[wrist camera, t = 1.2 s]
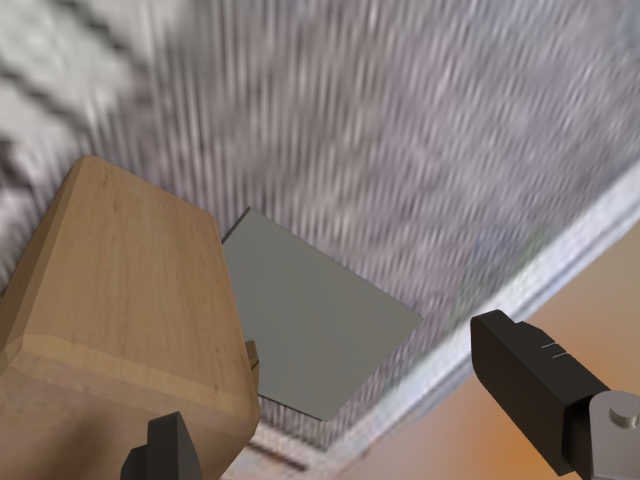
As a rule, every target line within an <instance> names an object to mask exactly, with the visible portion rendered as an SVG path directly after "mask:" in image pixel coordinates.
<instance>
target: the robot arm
mask: <svg viewBox="0 0 640 480" xmlns="http://www.w3.org/2000/svg"><path fill="white" fill-rule="evenodd" d="M470 328H471V352H472V364H473V368H474V371H475V373H476V375H477V377H478V379H479V381H480V382H481V383H482V385H483V386H484V387H485V388H486V389H487V390H488V392H489V393H490V394H491V395H492V397H493V398H494V399H495V400H496V401H497V403H498V404H499V405H500V406H501V407H502V409H503V410H504V411H505V412H506V413H507V414H508V416H509V417H510V418H511V419H512V421H513V422H514V423H515V424H516V425H517V427H518V428H519V429H520V430H521V431H522V433H523V434H524V435H525V436H526V437H527V439H528V440H529V441H530V442H531V443H532V445H533V446H534V447H535V448H536V449H537V451H538V452H539V453H540V454H541V455H542V457H543V458H544V459H545V460H546V461H547V463H548V464H549V465H550V466H551V467H552V469H553V470H554V471H555V472H556V473H557V475H558V476H563V475H565V474H568V473H570V472H573V471H576V473H577V474H578V475H579V476H580V477H581V478H582V480H640V396H638V395H635V394H632V393H629V392H624V391H615V390H614V391H612V390H610V389H609V388H608V387H607V386H606V385H604V384H603V383H602V382H601V381H600V380H599V379H598V378H596V377H595V376H594V375H593V374H592V373H591V372H590V371H589V370H587V369H586V368H585V367H584V366H583V365H582V364H580V363H579V362H578V361H577V360H576V359H575V358H573V357H572V356H571V355H570V354H567V352H566V351H565V350H564V349H563V348H562V347H561V346H560V345H559V344H556V343H555V341H554V340H553V339H552V338H551V337H549V336H548V335H547V334H546V333H545V332H544V331H542V330H541V329H539V328H536V327H535V326H532V325H530V324H527V323H526V322H523V321H521V322H518V323H514V322H513V321H512V320H511V319H510V318H509V317H508V316H507V315H506V314H505V313H503V312H502V311H501V310H498V309H497V310H493V311H490V312H487V313H484V314H481V315H478V316H475V317H472V319H471V322H470ZM120 480H202V473H201V467H200V463H199V459H198V456H197V453H196V450H195V448H194V445H193V443H192V440H191V438H190V435H189V433H188V430H187V428H186V425H185V423H184V420H183V418H182V415H181V413H180V412H179V411H177V412H174V413H171V414H167V415H164V416H161V417H158V418H155V419H152V420H149V422H148V430H147V444H145V445H142V446H139V447H136V448H133V449H131V451H130V452H129V454H128V456H127V458H126V460H125V462H124V464H123V466H122V468H121V474H120Z"/></svg>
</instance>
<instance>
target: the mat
mask: <svg viewBox="0 0 640 480" xmlns="http://www.w3.org/2000/svg"><path fill="white" fill-rule="evenodd" d="M221 243H222V247H223V252H224V256H225V260H226V264H227V269H228V273H229V277H230V282H231V286H232V290H233V294H234V299H235V303H236V307H237V311H238V316H239V320H240V324H241V328H242V333H243V337H244V341H245V342H249V341H252V340H254V341H255V345H256V350H257V354H258V359H259V384H258V392H257V393H258V394H260V395H263V396H265V397H268V398H270V399H272V400H275V401H277V402H280V403H282V404H285V405H287V406H289V407H292V408H294V409H297V410H299V411H301V412H304V413H306V414H309V415H311V416H314V417H316V418H318V419H321V420H323V421H326V422H328V421H329V420H330V419H331V418H332V417H333V416H334V414H335V413H336V412H337V411H338V410H339V409H340V408H341V407H342V406H343V405H344V404H345V403H346V402H347V401H348V400H349V399H350V397H351V396H352V395H353V394H354V393H355V392H356V391H357V390H358V389H359V388H360V387H361V386H362V385H363V384H364V383H365V382H366V380H367V379H368V378H369V377H370V376H371V375H372V374H373V373H374V372H375V371H376V370H377V369H378V368H379V367H380V366H381V365H382V363H383V362H384V361H385V360H386V359H387V358H388V357H389V356H390V355H391V354H392V353H393V352H394V351H395V350H396V349H397V348H398V346H399V345H400V344H401V343H402V342H403V341H404V340H405V339H406V338H407V337H408V336H409V335H410V334H411V333H412V332H413V331H414V329H415V328H416V327H417V326H418V325H419V324H420V323H421V322H422V321H423V320H424V319H423V317H422V316H421V315H420V314H418V313H416V312H415V311H413V310H412V309H410V308H409V307H407V306H405V305H404V304H402V303H401V302H399V301H398V300H396V299H394V298H393V297H391V296H390V295H388V294H387V293H385V292H383V291H382V290H380V289H379V288H377V287H376V286H374V285H372V284H371V283H369V282H368V281H366V280H365V279H363V278H361V277H360V276H358V275H357V274H355V273H354V272H352V271H350V270H349V269H347V268H346V267H344V266H343V265H341V264H339V263H338V262H336V261H335V260H333V259H332V258H330V257H328V256H327V255H325V254H324V253H322V252H321V251H319V250H318V249H316V248H314V247H313V246H311V245H310V244H308V243H307V242H305V241H303V240H302V239H300V238H299V237H297V236H296V235H294V234H292V233H291V232H289V231H288V230H286V229H285V228H283V227H281V226H280V225H278V224H277V223H275V222H274V221H272V220H270V219H269V218H267V217H266V216H264V215H263V214H261V213H259V212H258V211H256V210H255V209H253V208H252V207H250V206H249V207H248V208H247V210H246V211H245V212H244V213H243V215H242V216H241V217H240V218H239V220H238V221H237V222H236V224H235V225H234V226H233V227H232V229H231V230H230V231H229V232H228V234H227V235H226V236H225V237H224V239H223V240H222V241H221Z"/></svg>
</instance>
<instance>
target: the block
mask: <svg viewBox="0 0 640 480" xmlns="http://www.w3.org/2000/svg"><path fill="white" fill-rule="evenodd" d="M177 411H179V412H180V413H181V415H182V418H183V420H184V423H185V425H186V428H187V430H188V433H189V435H190V438H191V440H192V443H193V445H194V448H195V450H196V453H197V456H198V459H199V463H200V467H201V473H202V480H219V478H220V477H221V476H222V475H223V473H224V472H225V471H226V470H227V468H228V467H229V466H230V465H231V463H232V462H233V461H234V460H235V458H236V457H237V456H238V455H239V453H240V452H241V451H242V450H243V448H244V447H245V446H246V445H247V443H248V442H249V441H250V440H251V438H252V437H253V436H254V434H255V431H256V428H257V425H258V423H259V417H260V411H261V409H260V405H259V401H258V397H257V392H256V388H255V384H254V380H253V375H252V371H251V367H250V363H249V358H248V354H247V350H246V346H245V341H244V337H243V333H242V328H241V324H240V320H239V316H238V311H237V307H236V303H235V299H234V294H233V290H232V286H231V282H230V277H229V273H228V269H227V264H226V260H225V256H224V252H223V247H222V243H221V239H220V235H219V230H218V226H217V222H216V220H215V219H214V218H213V217H212V216H211V214H210V213H208V212H206V211H204V210H202V209H200V208H198V207H196V206H194V205H192V204H190V203H188V202H186V201H184V200H182V199H180V198H178V197H177V196H175V195H173V194H171V193H169V192H167V191H165V190H163V189H161V188H159V187H157V186H155V185H153V184H151V183H149V182H147V181H145V180H143V179H141V178H139V177H137V176H135V175H134V174H132V173H130V172H128V171H126V170H124V169H122V168H120V167H118V166H116V165H114V164H112V163H110V162H108V161H106V160H104V159H102V158H100V157H98V156H92V155H84V156H83V157H81V158H80V159H79V160H77V161H76V162H75V163H74V165H73V167H72V169H71V170H70V172H69V174H68V176H67V177H66V179H65V181H64V183H63V184H62V186H61V188H60V190H59V191H58V193H57V195H56V197H55V198H54V200H53V202H52V204H51V205H50V207H49V209H48V211H47V212H46V214H45V216H44V218H43V220H42V221H41V223H40V225H39V227H38V228H37V230H36V232H35V234H34V235H33V237H32V239H31V241H30V242H29V244H28V246H27V248H26V249H25V251H24V253H23V255H22V256H21V258H20V260H19V262H18V264H17V267H16V269H15V271H14V273H13V276H12V278H11V280H10V282H9V285H8V287H7V289H6V292H5V294H4V296H3V298H2V301H1V303H0V480H120V474H121V468H122V466H123V464H124V462H125V460H126V458H127V456H128V454H129V452H130V451H131V449H133V448H136V447H139V446H142V445H145V444H147V430H148V422H149V420H152V419H155V418H158V417H161V416H164V415H167V414H171V413H174V412H177Z"/></svg>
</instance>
